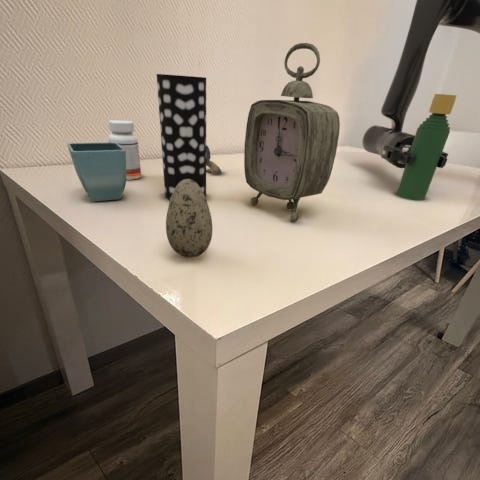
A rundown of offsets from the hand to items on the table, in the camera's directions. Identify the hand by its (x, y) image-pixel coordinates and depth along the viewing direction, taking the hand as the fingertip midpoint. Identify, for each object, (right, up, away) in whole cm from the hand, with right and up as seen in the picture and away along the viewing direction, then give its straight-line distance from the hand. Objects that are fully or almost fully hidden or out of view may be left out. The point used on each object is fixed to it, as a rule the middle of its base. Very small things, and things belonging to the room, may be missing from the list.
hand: (427, 161), depth 73 cm
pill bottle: (-68, -1, +6) cm, 68 cm away
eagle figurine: (-51, +4, +15) cm, 53 cm away
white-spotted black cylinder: (-52, -10, -5) cm, 53 cm away
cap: (+1, +9, -3) cm, 9 cm away
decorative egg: (-48, -26, -27) cm, 61 cm away
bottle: (0, -5, +7) cm, 8 cm away
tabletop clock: (-33, -14, -9) cm, 37 cm away
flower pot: (-67, -11, -8) cm, 69 cm away
